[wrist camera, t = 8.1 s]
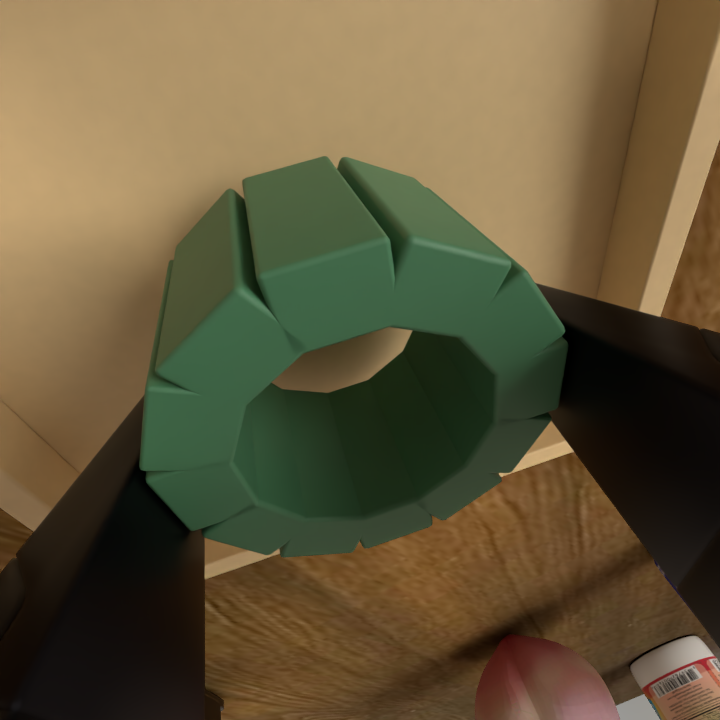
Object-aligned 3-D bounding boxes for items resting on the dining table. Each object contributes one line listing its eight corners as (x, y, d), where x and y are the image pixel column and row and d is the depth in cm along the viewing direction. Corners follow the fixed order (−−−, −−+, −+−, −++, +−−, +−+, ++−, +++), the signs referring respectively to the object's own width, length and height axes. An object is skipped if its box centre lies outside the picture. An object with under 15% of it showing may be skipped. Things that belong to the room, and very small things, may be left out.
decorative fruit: (469, 669, 36) (536, 841, 29) (437, 651, 31) (507, 856, 24) (572, 621, 35) (669, 787, 28) (556, 594, 30) (670, 790, 23)
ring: (237, 455, 11) (245, 593, 9) (92, 219, 7) (16, 346, 4) (470, 379, 12) (546, 488, 9) (464, 115, 7) (601, 174, 5)
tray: (143, 542, 15) (134, 604, 13) (-571, -103, 5) (-951, -156, 3) (581, 394, 16) (621, 435, 15) (749, -373, 6) (937, -505, 4)
